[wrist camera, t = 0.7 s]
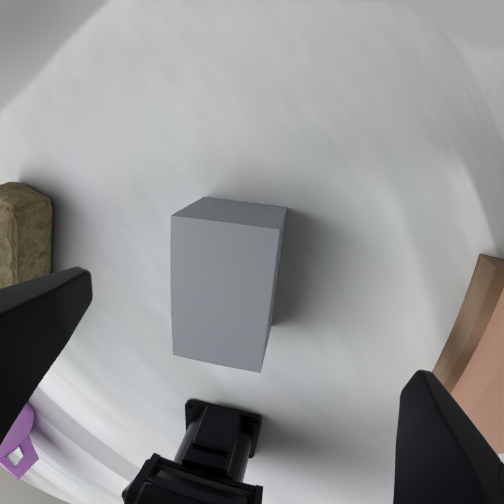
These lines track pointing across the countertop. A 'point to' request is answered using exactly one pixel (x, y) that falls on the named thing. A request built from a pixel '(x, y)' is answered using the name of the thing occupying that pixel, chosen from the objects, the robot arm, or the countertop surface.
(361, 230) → the countertop surface
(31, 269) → the stone block
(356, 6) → the countertop surface
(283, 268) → the countertop surface
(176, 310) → the charcoal block
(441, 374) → the base slab
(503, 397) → the top slab
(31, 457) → the teakettle
